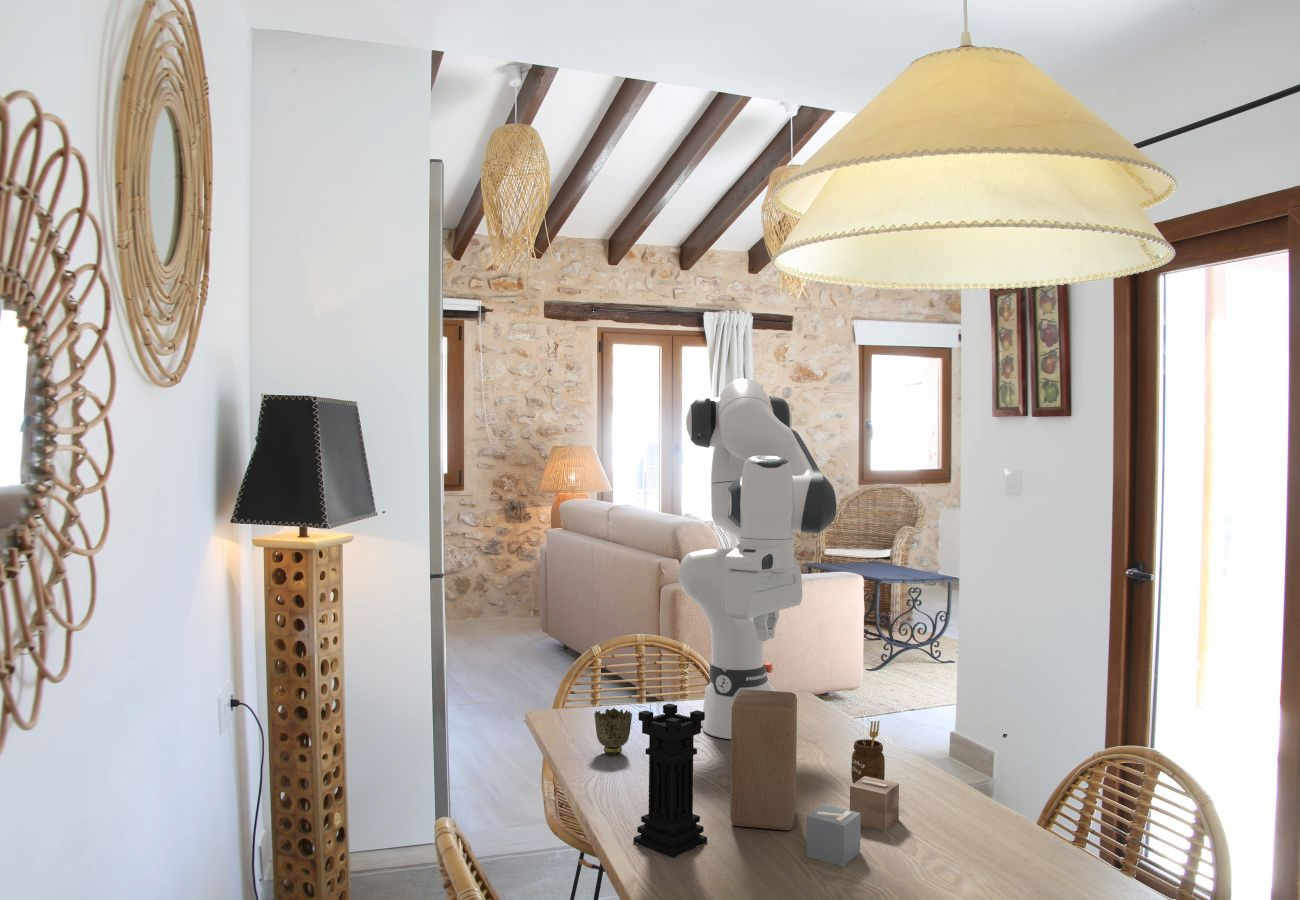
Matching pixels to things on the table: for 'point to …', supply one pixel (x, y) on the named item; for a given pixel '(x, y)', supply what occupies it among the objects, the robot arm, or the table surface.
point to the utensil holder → (868, 756)
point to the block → (763, 759)
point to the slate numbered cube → (833, 834)
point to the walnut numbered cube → (875, 802)
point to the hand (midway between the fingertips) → (765, 639)
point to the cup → (613, 729)
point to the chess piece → (671, 782)
